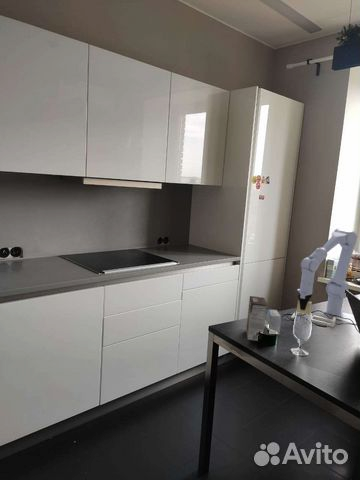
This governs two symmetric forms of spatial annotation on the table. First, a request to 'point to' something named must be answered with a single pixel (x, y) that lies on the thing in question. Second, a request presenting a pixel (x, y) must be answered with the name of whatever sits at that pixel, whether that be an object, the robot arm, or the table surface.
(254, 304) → the coffee box
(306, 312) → the tan rectangular block
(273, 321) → the medicine box
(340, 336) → the table surface
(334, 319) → the dispenser
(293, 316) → the mat
